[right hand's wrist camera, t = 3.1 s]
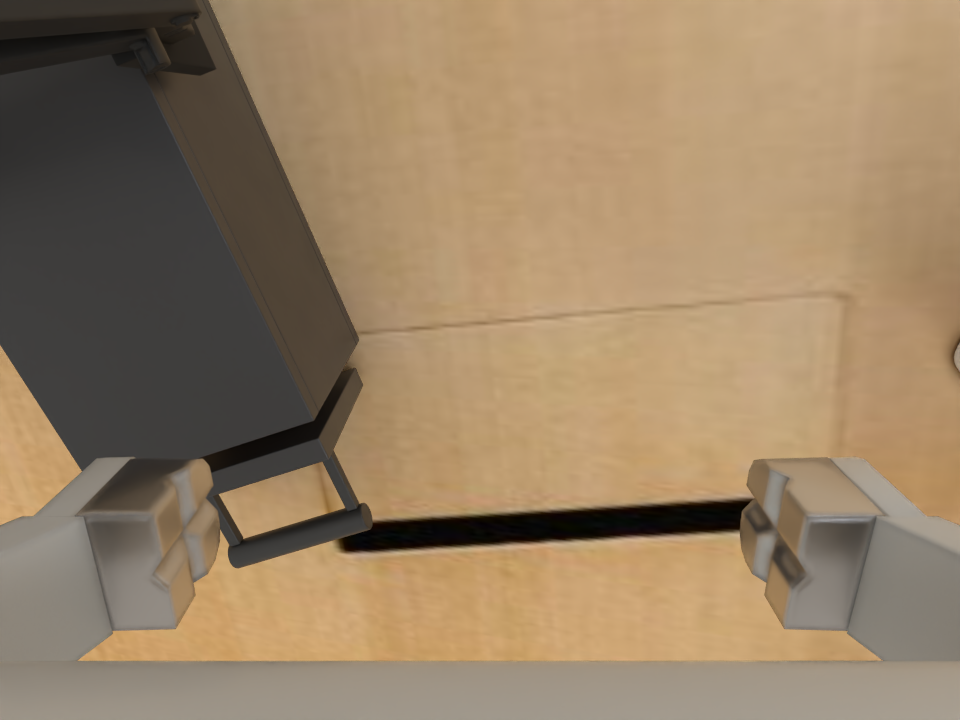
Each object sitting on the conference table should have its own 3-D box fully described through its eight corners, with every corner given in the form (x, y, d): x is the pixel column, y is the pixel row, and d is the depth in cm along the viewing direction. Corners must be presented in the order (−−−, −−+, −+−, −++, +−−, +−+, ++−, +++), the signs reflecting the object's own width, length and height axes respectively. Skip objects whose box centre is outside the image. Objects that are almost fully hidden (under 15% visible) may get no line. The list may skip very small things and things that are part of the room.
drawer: (402, 469, 41) (379, 561, 33) (257, 514, 43) (201, 612, 34) (204, 33, 33) (106, 10, 24) (31, 106, 34) (-116, 108, 26)
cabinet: (359, 340, 39) (314, 420, 29) (192, 397, 41) (94, 492, 31) (187, -47, 32) (51, -114, 22) (-7, 39, 34) (-216, 13, 24)
